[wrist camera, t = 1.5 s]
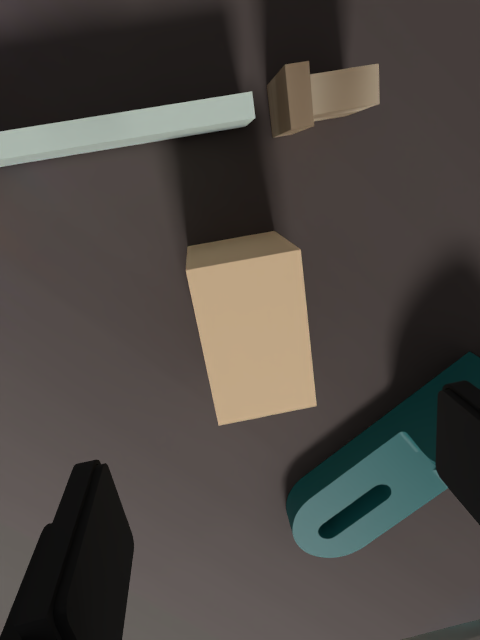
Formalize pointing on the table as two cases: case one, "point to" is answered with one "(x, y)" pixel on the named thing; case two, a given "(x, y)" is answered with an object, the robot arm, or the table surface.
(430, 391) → the bracket
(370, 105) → the oak fence
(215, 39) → the table surface
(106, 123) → the sage gate
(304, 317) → the block
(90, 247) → the table surface
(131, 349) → the table surface
